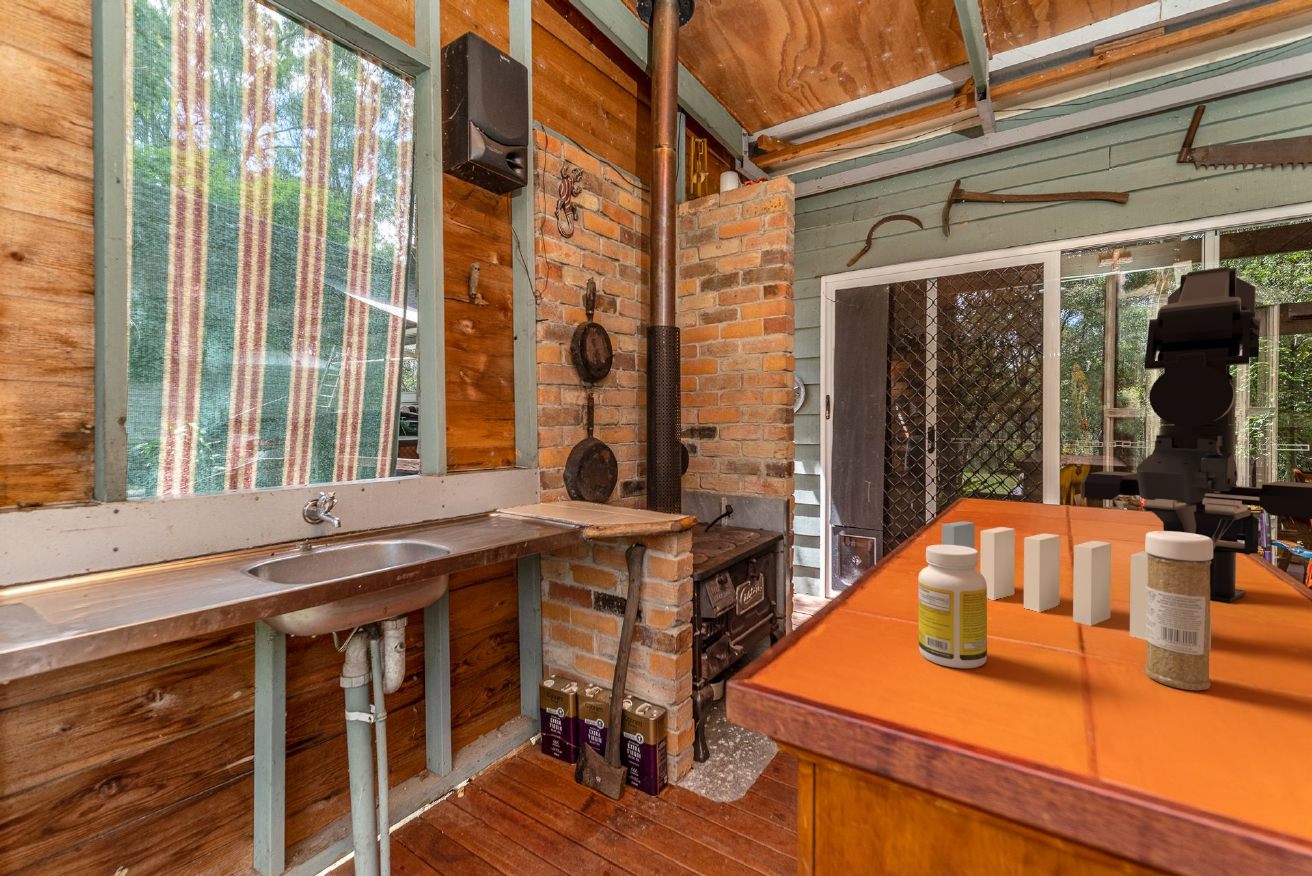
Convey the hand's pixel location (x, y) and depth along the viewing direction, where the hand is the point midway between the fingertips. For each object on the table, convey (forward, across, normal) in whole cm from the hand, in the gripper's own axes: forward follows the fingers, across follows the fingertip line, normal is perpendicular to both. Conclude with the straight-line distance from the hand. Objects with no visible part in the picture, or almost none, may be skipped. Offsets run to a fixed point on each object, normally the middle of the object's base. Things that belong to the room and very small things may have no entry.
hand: (1193, 574), depth 61 cm
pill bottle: (+8, -12, -24) cm, 28 cm away
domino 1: (+8, -26, 0) cm, 27 cm away
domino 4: (+8, -9, 0) cm, 12 cm away
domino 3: (+8, -15, 0) cm, 16 cm away
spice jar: (+8, +2, -12) cm, 14 cm away
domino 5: (+8, -4, 0) cm, 8 cm away
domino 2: (+8, -20, 0) cm, 21 cm away
